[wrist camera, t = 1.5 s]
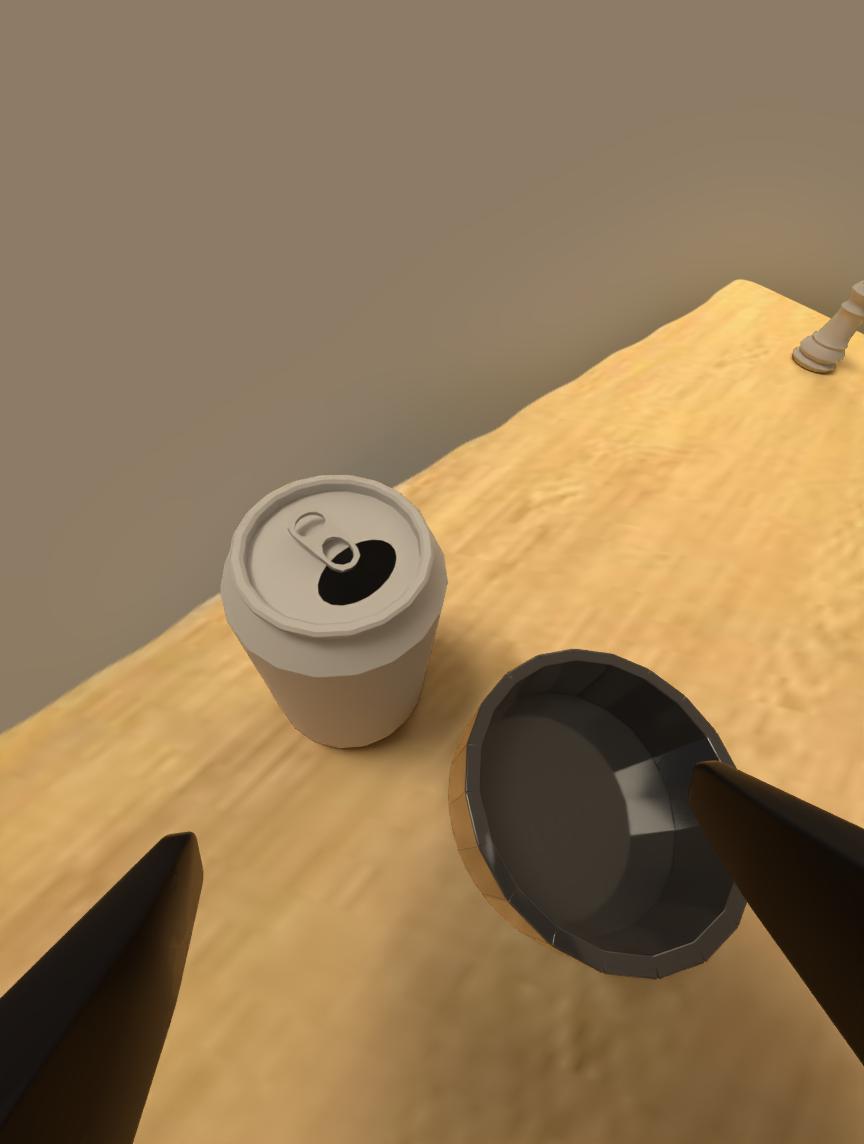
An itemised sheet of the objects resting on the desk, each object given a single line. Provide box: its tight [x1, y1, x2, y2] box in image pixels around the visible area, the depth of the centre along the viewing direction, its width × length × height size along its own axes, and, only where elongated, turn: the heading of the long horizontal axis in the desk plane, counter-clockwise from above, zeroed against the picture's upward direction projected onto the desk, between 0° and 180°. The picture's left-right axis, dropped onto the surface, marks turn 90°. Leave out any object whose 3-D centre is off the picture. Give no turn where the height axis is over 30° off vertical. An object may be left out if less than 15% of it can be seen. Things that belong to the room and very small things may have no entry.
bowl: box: [449, 649, 747, 980], centre depth 19 cm, size 11×11×5 cm
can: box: [220, 475, 448, 748], centre depth 19 cm, size 8×8×12 cm
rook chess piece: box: [793, 280, 864, 373], centre depth 44 cm, size 4×4×8 cm
